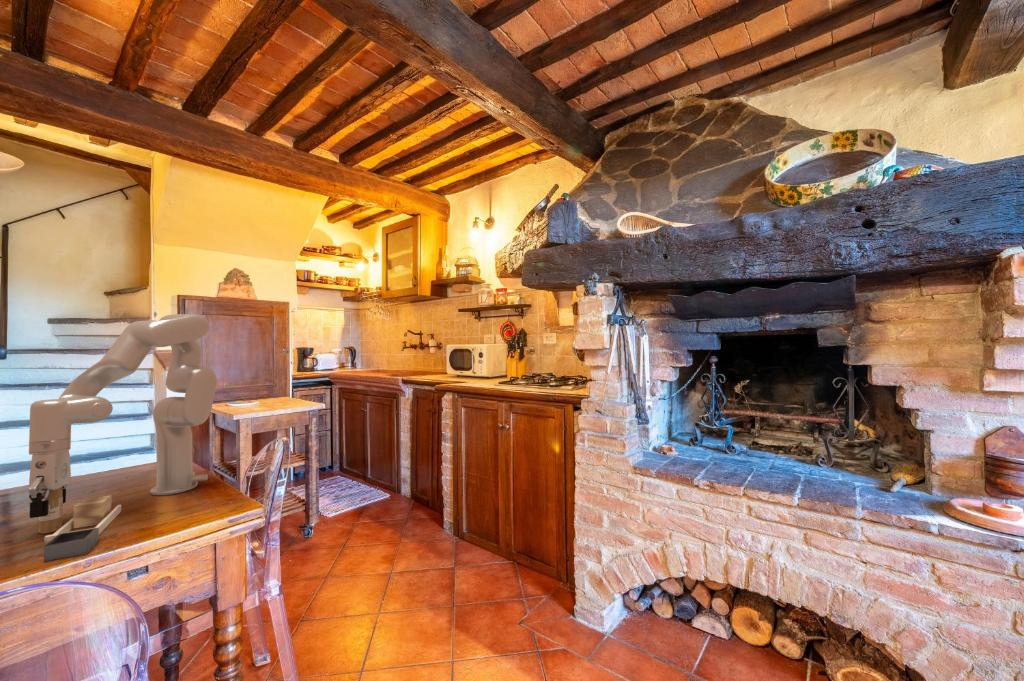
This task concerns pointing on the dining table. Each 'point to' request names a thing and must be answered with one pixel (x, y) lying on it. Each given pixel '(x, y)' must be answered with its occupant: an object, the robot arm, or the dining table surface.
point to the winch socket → (71, 544)
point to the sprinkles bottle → (52, 512)
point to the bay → (70, 525)
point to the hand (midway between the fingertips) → (48, 510)
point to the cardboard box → (91, 511)
